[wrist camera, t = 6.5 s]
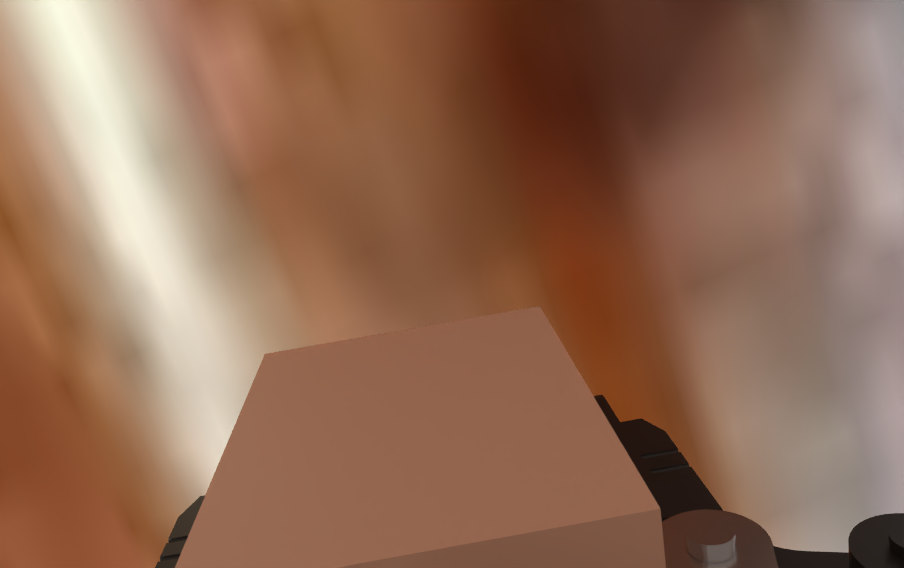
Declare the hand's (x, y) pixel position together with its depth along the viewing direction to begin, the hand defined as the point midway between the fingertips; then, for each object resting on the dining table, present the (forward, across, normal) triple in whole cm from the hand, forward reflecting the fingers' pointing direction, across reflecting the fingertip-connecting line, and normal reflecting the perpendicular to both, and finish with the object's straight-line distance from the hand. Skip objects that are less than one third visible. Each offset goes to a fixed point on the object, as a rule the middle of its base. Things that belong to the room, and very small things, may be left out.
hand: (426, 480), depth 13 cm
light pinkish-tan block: (+1, 0, 0) cm, 1 cm away
